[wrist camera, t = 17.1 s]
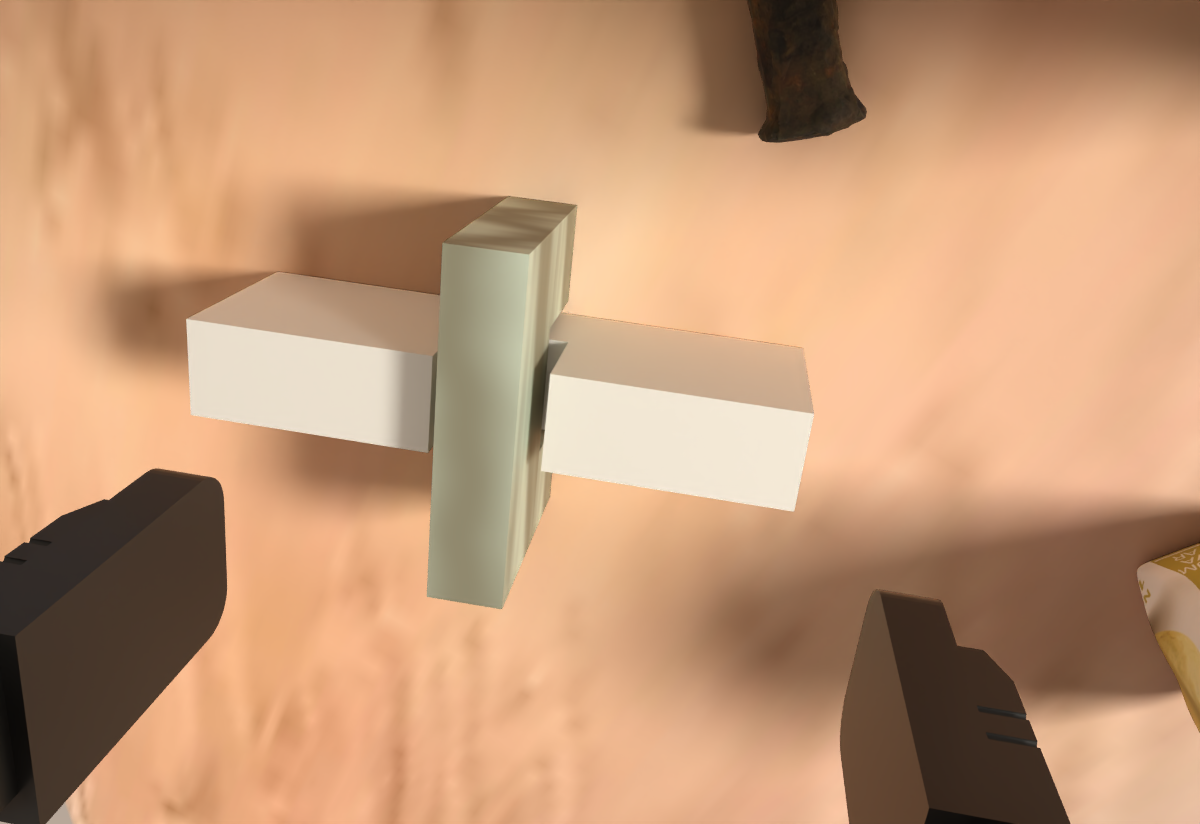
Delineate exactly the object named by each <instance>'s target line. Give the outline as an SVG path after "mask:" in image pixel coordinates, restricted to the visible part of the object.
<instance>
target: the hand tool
mask: <svg viewBox="0 0 1200 824" xmlns="http://www.w3.org/2000/svg"><path fill="white" fill-rule="evenodd" d="M748 5H749V10H750V14H751V18H752V23H753V32H754V37H755V44H756V50H757V60H758V67H759V71H760V74H761V78H762V81H763V86H764V91H765V97H766V103H767V118H766V121H765V123H764V124H763V126H762V128H761V129H760V131H759V133H758V135H759V137H760V139H761V140H762V141H765V142H787V141H795V140H802V139H809V138H813V137H819V136H828V135H830V134H832V133H834V132H837V131H839V130H842V129H845V128H848V127H849V126H851V125H852V124H854V123H856V122H859V121H861V120H863V119H864V118H866V113H867V111H866V108H865V107H864V105H863V104H862V103H861V102H860V100H859V99H858V98H857V96H856V95H855V94H854V91H853V89H852V87H851V85H850V81H849V78H848V70H847V67H846V64H845V63H844V62H843V61H842V51H841V47H840V41H839V35H838V29H839V26H838V8H837V3H836V0H748Z"/></svg>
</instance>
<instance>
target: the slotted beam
mask: <svg viewBox="0 0 1200 824" xmlns="http://www.w3.org/2000/svg"><path fill="white" fill-rule="evenodd" d="M439 310H440V295H435V294H428V293H422V292H415V291H408V290H401V289H394V288H387V287H380V286H373V285H367V284H360V283H353V282H346V281H339V280H332V279H325V278H318V277H311V276H305V275H298V274H291V273H284V272H276V273H274V274H272V275H270V276H268V277H266V278H264V279H262V280H260V281H258V282H257V283H255V284H253V285H251V286H249V287H247V288H245V289H243V290H241V291H239V292H237V293H235V294H233V295H231V296H230V297H228V298H226V299H224V300H222V301H220V302H218V303H216V304H214V305H212V306H210V307H208V308H206V309H204V310H203V311H201V312H199V313H197V314H195V315H193V316H191V317H189V318H187V319H186V324H187V344H188V365H189V385H190V405H191V415H195V416H201V417H207V418H213V419H220V420H226V421H232V422H238V423H244V424H251V425H257V426H263V427H269V428H276V429H282V430H288V431H294V432H301V433H307V434H313V435H319V436H326V437H332V438H338V439H344V440H351V441H357V442H363V443H369V444H376V445H382V446H388V447H394V448H400V449H407V450H413V451H419V452H425V453H428V452H429V451H430V450H431V448H432V447H433V446H434V423H435V401H436V378H437V355H438V333H439ZM813 417H814V410H813V404H812V398H811V392H810V386H809V380H808V374H807V368H806V362H805V356H804V350H803V348H800V347H793V346H786V345H779V344H772V343H765V342H758V341H752V340H745V339H738V338H731V337H724V336H717V335H710V334H703V333H697V332H690V331H683V330H676V329H669V328H662V327H655V326H648V325H642V324H635V323H628V322H621V321H614V320H607V319H600V318H593V317H587V316H580V315H573V314H566V313H560V314H559V316H558V317H557V319H556V320H555V322H554V323H553V325H552V326H551V328H550V336H549V348H548V359H547V371H546V382H545V393H544V405H543V416H542V428H541V429H543V430H545V434H544V444H543V455H542V465H541V471H544V472H550V473H556V474H563V475H569V476H575V477H581V478H588V479H594V480H600V481H606V482H613V483H619V484H625V485H631V486H638V487H644V488H650V489H656V490H663V491H669V492H675V493H681V494H688V495H694V496H700V497H706V498H712V499H719V500H725V501H731V502H737V503H744V504H750V505H756V506H762V507H769V508H775V509H781V510H787V511H794V510H795V505H796V500H797V495H798V490H799V485H800V480H801V476H802V471H803V466H804V461H805V456H806V451H807V446H808V441H809V436H810V431H811V427H812V422H813Z"/></svg>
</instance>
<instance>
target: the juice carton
mask: <svg viewBox="0 0 1200 824" xmlns="http://www.w3.org/2000/svg"><path fill="white" fill-rule="evenodd" d="M1137 578H1138V583H1139V587H1140V591H1141V595H1142V599H1143V602H1144V606H1145V609H1146V613H1147V616H1148V619H1149V622H1150V625H1151V628H1152V630H1153V633H1154V635H1155V638H1156V640H1157V642H1158V644H1159V646H1160V648H1161V650H1162V652H1163V654H1164V656H1165V658H1166V660H1167V662H1168V664H1169V665H1170V667H1171V669H1172V670H1173V672H1174V674H1175V676H1176V678H1177V681H1178V683H1179V686H1180V688H1181V691H1182V694H1183V697H1184V700H1185V702H1186V705H1187V707H1188V710H1189V712H1190V714H1191V717H1192V719H1193V721H1194V723H1195V724H1196V726H1197V728H1198V730H1199V732H1200V543H1198V544H1195V545H1192V546H1189V547H1187V548H1184V549H1181V550H1179V551H1176V552H1173V553H1171V554H1168V555H1165V556H1162V557H1160V558H1157V559H1155V560H1152V561H1149V562H1147V563H1145V564H1143V565H1141V566H1140V567H1139V568H1138V570H1137Z"/></svg>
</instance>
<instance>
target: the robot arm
mask: <svg viewBox="0 0 1200 824" xmlns="http://www.w3.org/2000/svg"><path fill="white" fill-rule="evenodd" d="M226 595H227V570H226V543H225V516H224V496H223V490H222V487H221V485H220V483H219V481H218V480H216V479H215V478H212V477H206V476H200V475H194V474H188V473H182V472H176V471H170V470H164V469H152V470H150V471H148V472H146V473H145V474H144V475H142V476H141V477H140V478H138V479H137V480H136V481H134V482H133V483H131V484H130V485H129V486H127V487H126V488H125V489H123V490H122V491H121V492H119V493H118V494H117V495H115V496H114V497H113V498H111V499H110V500H105V499H104V500H101V501H99V502H96V503H94V504H91V505H88V506H86V507H83V508H81V509H78V510H75V511H73V512H70V513H68V514H65V515H62V516H61V517H59V518H58V519H56V520H55V521H54V522H52V523H51V524H49V525H48V526H47V527H45V528H44V529H42V530H41V531H40V532H38V533H37V534H35V535H34V536H32V537H31V538H30V542H29V543H25V542H24V543H23V544H21V545H20V546H18V547H17V548H16V549H14V550H13V551H11V552H10V553H9V554H7V555H6V556H5V558H4V561H3V562H1V561H0V821H1V822H6V823H11V824H46V823H47V822H48V821H49V819H50V818H51V817H52V816H53V815H54V814H55V813H56V811H57V810H58V809H59V808H60V807H61V806H62V805H63V803H64V802H65V801H66V800H67V799H68V798H69V797H70V796H71V795H72V793H73V792H74V791H75V790H76V789H77V788H78V787H79V785H80V784H81V783H82V782H83V781H84V780H85V779H86V778H87V776H88V775H89V774H90V773H91V772H92V771H93V770H94V768H95V767H96V766H97V765H98V764H99V763H100V762H101V761H102V759H103V758H104V757H105V756H106V755H107V754H108V753H109V751H110V750H111V749H112V748H113V747H114V746H115V745H116V744H117V742H118V741H119V740H120V739H121V738H122V737H123V736H124V735H125V733H126V732H127V731H128V730H129V729H130V728H131V727H132V725H133V724H134V723H135V722H136V721H137V720H138V719H139V718H140V716H141V715H142V714H143V713H144V712H145V711H146V710H147V708H148V707H149V706H150V705H151V704H152V703H153V702H154V701H155V699H156V698H157V697H158V696H159V695H160V694H161V693H162V692H163V690H164V689H165V688H166V687H167V686H168V685H169V684H170V682H171V681H172V680H173V679H174V678H175V677H176V676H177V675H178V673H179V672H180V671H181V670H182V669H183V668H184V667H185V665H186V664H187V663H188V662H189V661H190V660H191V659H192V658H193V656H194V655H195V654H196V653H197V652H198V651H199V650H200V649H201V647H202V646H203V645H204V644H205V643H206V642H207V641H208V639H209V638H210V637H211V636H212V634H213V633H214V631H215V629H216V628H217V626H218V624H219V621H220V619H221V616H222V613H223V610H224V606H225V601H226ZM840 751H841V761H842V769H843V777H844V785H845V793H846V801H847V809H848V817H849V824H1070V821H1069V819H1068V816H1067V814H1066V811H1065V809H1064V806H1063V804H1062V801H1061V799H1060V796H1059V794H1058V791H1057V789H1056V787H1055V784H1054V782H1053V779H1052V777H1051V774H1050V772H1049V769H1048V767H1047V764H1046V762H1045V759H1044V757H1043V754H1042V752H1041V749H1040V748H1037V739H1036V737H1035V734H1034V732H1033V729H1032V727H1031V724H1030V722H1029V720H1026V712H1025V709H1024V707H1023V704H1022V702H1021V699H1020V697H1019V694H1018V692H1017V689H1016V687H1015V684H1014V682H1013V681H1012V680H1011V679H1010V678H1009V676H1008V675H1007V674H1006V673H1005V672H1004V671H1003V670H1002V669H1001V668H1000V667H999V666H998V665H997V664H996V663H995V662H994V661H993V660H992V659H991V658H990V657H989V656H988V655H987V654H986V653H985V652H984V651H983V650H978V649H972V648H966V647H960V646H957V645H956V642H955V639H954V636H953V633H952V630H951V627H950V624H949V621H948V618H947V615H946V612H945V609H944V606H943V603H942V602H941V601H940V600H938V599H932V598H926V597H920V596H914V595H908V594H902V593H896V592H890V591H884V590H878V589H876V590H874V591H873V593H872V595H871V597H870V599H869V602H868V606H867V609H866V613H865V617H864V621H863V626H862V630H861V634H860V638H859V642H858V646H857V650H856V654H855V658H854V662H853V666H852V670H851V675H850V679H849V683H848V687H847V691H846V695H845V700H844V705H843V711H842V719H841V731H840Z"/></svg>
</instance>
